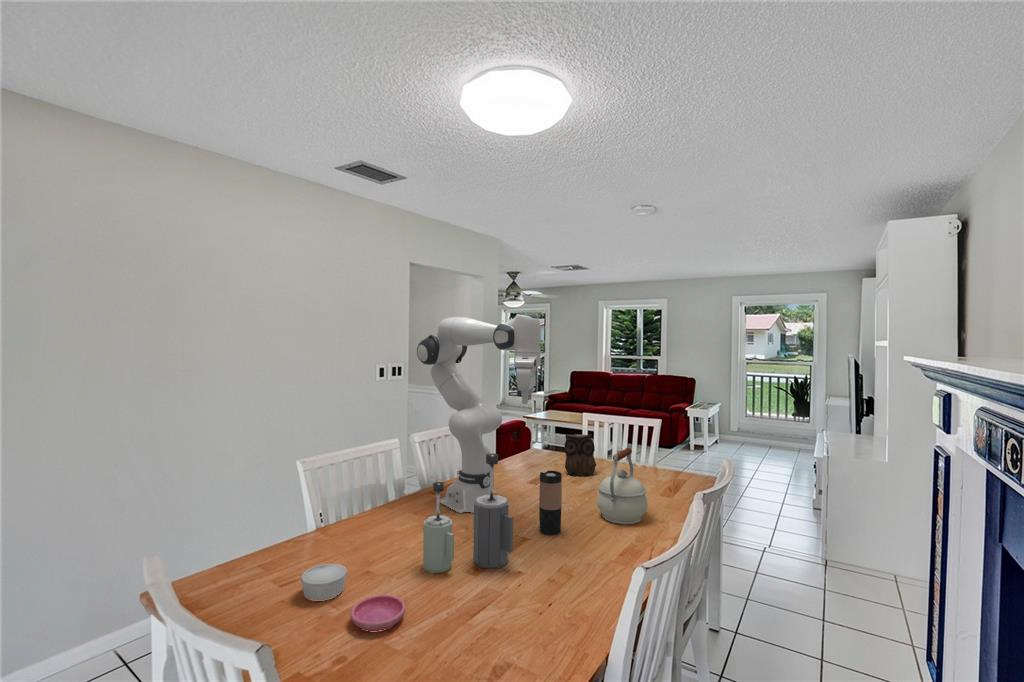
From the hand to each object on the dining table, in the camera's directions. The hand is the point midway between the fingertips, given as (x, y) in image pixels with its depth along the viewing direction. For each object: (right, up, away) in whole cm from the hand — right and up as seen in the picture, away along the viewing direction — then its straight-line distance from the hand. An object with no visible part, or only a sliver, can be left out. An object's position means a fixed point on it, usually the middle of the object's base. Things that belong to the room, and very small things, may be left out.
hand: (526, 401), depth 167 cm
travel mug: (+8, -45, +3) cm, 46 cm away
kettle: (+37, -45, +18) cm, 61 cm away
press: (-10, -45, -21) cm, 51 cm away
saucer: (-36, -45, -51) cm, 77 cm away
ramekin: (-54, -45, -39) cm, 80 cm away
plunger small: (-26, -31, -24) cm, 47 cm away
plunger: (-11, -27, -20) cm, 35 cm away
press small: (-26, -45, -25) cm, 57 cm away
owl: (+29, -45, +75) cm, 92 cm away
